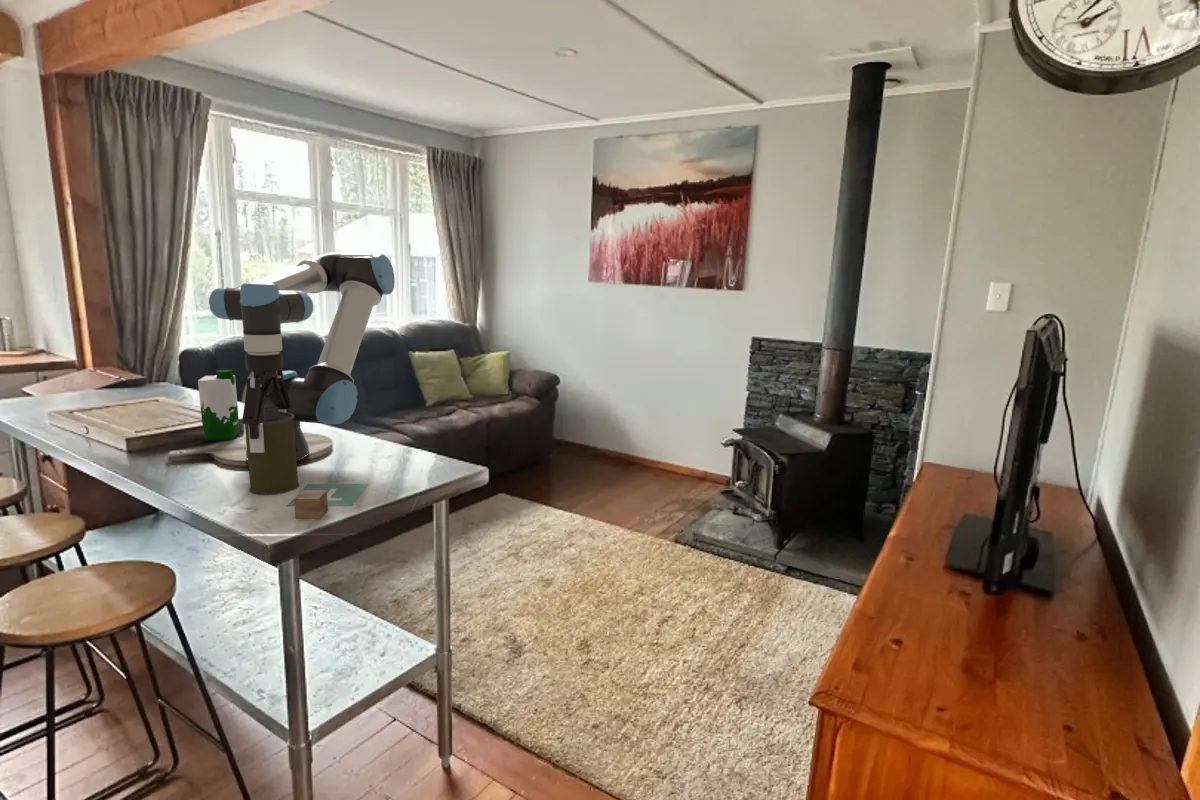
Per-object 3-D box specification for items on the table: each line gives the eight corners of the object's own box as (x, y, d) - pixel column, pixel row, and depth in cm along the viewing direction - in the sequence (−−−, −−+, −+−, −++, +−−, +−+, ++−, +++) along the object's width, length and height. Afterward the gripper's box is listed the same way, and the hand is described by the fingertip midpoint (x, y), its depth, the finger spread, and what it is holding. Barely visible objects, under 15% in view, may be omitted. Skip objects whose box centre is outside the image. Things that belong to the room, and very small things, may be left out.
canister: (306, 488, 148) (301, 406, 143) (259, 500, 140) (252, 413, 136) (287, 477, 155) (281, 398, 150) (241, 487, 147) (234, 404, 143)
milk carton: (235, 440, 183) (229, 373, 178) (200, 441, 180) (193, 373, 176) (242, 432, 191) (237, 367, 187) (209, 433, 188) (202, 368, 184)
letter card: (308, 485, 150) (308, 483, 150) (368, 485, 152) (368, 483, 152) (286, 507, 136) (286, 506, 136) (352, 507, 138) (352, 505, 138)
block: (304, 511, 135) (302, 490, 134) (328, 511, 135) (326, 490, 134) (295, 521, 130) (293, 498, 129) (320, 521, 131) (319, 498, 129)
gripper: (268, 345, 152) (274, 429, 156) (218, 360, 128) (227, 459, 132) (301, 346, 153) (305, 430, 157) (257, 361, 129) (264, 459, 133)
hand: (269, 443), depth 145 cm, fingers open, 13 cm apart
